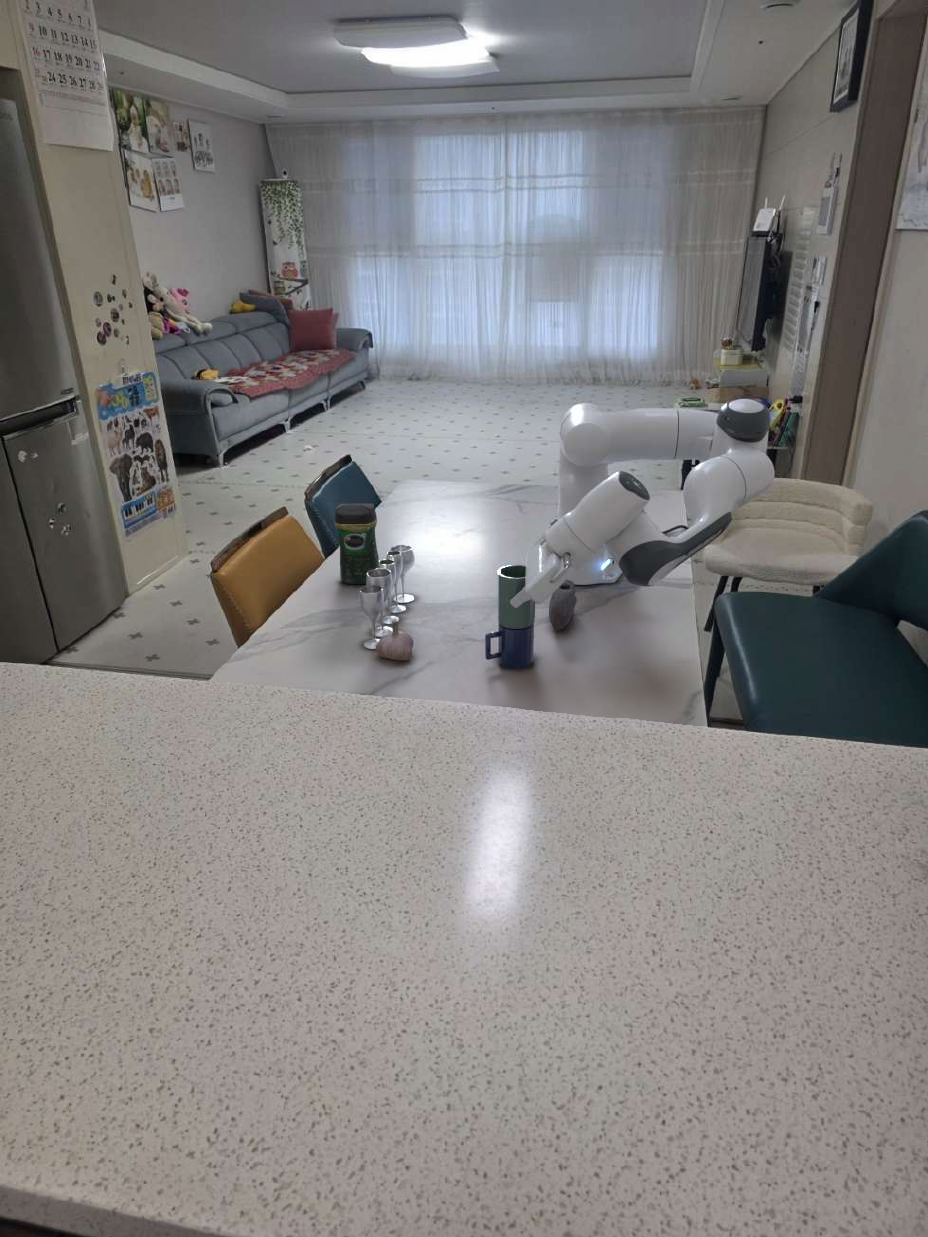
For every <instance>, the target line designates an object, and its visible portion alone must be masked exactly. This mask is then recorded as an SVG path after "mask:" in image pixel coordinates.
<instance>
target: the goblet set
mask: <svg viewBox="0 0 928 1237" xmlns="http://www.w3.org/2000/svg"><path fill="white" fill-rule="evenodd" d="M415 561H416V558H415V553H414V551H413V547H412V546H410V545H407V544H397V545H393V546H391V547H390V549H389V551H387V553H386V559H381V560H379V566H378V569H374V570H371V571H369V572H368V573H367V580H366V583H367V584H366V585H365V586H363V587H361V588H360V589H359V596H358V597H359V604H360V607H361V609H362V611H363V612H364V614H365V615H366V616H367V617H368V619H369V620H370V624H371V627H372V630H371V635H372V636H373V638H372V639H368V640H366V641H364V643H363V646H364V648H366V649H369V650H376V645H377V643H378V641H379V640H380V638H382V637H383V636H385V635H389V634H391V633H393V628H392V627H390V626H384V624H385V625H392V620H397V621H398V622H400V618H399V617H398V616H395V615H392V614H391V613H393V614H400V613H403V612H405V611H406V610H407V607H406V606H405V605H401V604H407V603H411V602H413V601H414V600H415V597H414V595H411V594H408V593H407V594H405V578H406V575H407V574H408V572H409V571H411V569H412V568H413V567H414V565H415V563H416V562H415ZM399 580H401V589H402V594H398V586H399V585H398V584H399ZM393 589H394V595H395V596H393V601H394V602H395V605H392V606H391V597H392V596H391V595H392V591H393ZM386 602H387V606H388V609H387V610H388V615H386V616H384V606H385V604H386ZM399 604H400V605H399ZM379 615H380V625H381V626H378V627H376V621H377V618H378V617H379ZM376 637H377V638H376Z"/></svg>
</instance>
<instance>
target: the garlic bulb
mask: <svg viewBox="0 0 928 1237" xmlns="http://www.w3.org/2000/svg"><path fill="white" fill-rule="evenodd" d="M398 623H399V621H397V620H392V624H391V626H392V627H391V628H392V629H393V633H391V634H389V635H385V636H383V637H379V639H380V640H379V641H378V643H377V645H376V649H375V652H376V654H377V655H378V656H379V657H383V658H385V659H390V660H395V661H408V660H410V659H411V658H412V656H413V648H414V638H413V637H412V635H410V634H409V633H407V632H405V631H402V630H399V624H398Z"/></svg>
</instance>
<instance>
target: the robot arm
mask: <svg viewBox="0 0 928 1237" xmlns="http://www.w3.org/2000/svg"><path fill="white" fill-rule="evenodd" d="M770 428H771V413H770V409H769V408H768V407H767V406H766V404H764V403H763V402H762V401H759V400H756V399H752V398H735V399H731V400H729V401H727V402H725V403H724V404H723V405H722V406H721V407H720V410H719V411H718V413H717V412H713V411H708V410H702V409H696V408H695V409H694V408H677V407H676V408H669V407H667V408H665V407H664V408H661V407H658V408H653V407H649V408H648V407H647V408H646V407H645V408H642V407H641V408H640V407H639V408H636V409H630V410H624V411H623V410H622V411H614V412H606V411H604V410H603V408H601V407H600V406H598V405H597V404H594V403H589V402H582V403H578V404H575V405H573V406H571V407H570V408H569V409H568V410H567V411H566V412H565V413H564V415H563V417H562V418H561V422H560V428H559V430H560V431H559V459H558V460H559V464H558V490H557V491H558V492H557V515H556V516H555V518H554V519H553V520H552V521H551V522H549V524H548V529H546V530H545V531H544V532H543V533H542V534H541V535H540V536H539V537H538V538H537V539H536V540H535V541H534V543H533V544H531V546H529V548H528V550H527V552H526V554H525V565H526V574H525V587H524V588H523V589H522V590H521V591H520V592H519V593H516V594H514V595H513V596H512V597H511V599H510V604H512V605H513V606H514V607H515V608H517V607H519V606H520V605H521V604H522V603H524V602H526V601H528V600H530V599H532V600H533V601H534V602H535V605H540V604H542V603H544V602H545V601H546V600H548V599H549V598H550V597H551V596H552V594H553V593H554V592H555V591H556V590H557V589H558V588H559V587H560V586H561V585H562V584H563V582H564V581H565V580H566V579H567V580H570V581H573V583H574V585H575V586H576V585H577V586H587V585H596V584H615V583H616V581H617V580H618V579H620V577H621V576H622V574H623V575H624V578H625V579H626V581H627V582H628V583H629V584H631V585H634V586H638V587H639V586H640V587H652V586H654V585H656V584H658V583H659V582H662V581H663V580H664V579H665V578H666V577H667V576H668V575H669V574H670V573H672V571H674V570H675V569H676V568H677V567H679V566H680V565H682V564H683V563H685V562H686V561H687V560H688V559H690V558H691V557H693V556H694V555H696V554H697V553H698V552H700V551H702V550H703V549H704V548H706V547H707V546H708V545H710V544H711V543H712V542H714V541H715V540H716V539H718V538H719V537H720V536H721V535H722V534H723V533H724V532H725V531H726V530H727V529H728V527H729V526H730V524H731V522H732V521H733V514H732V512H733V511H735V510H738V509H741V508H742V507H745V506H746V505H749V504H750V503H752V502H753V501H755V500H757V499H758V498H759V497H761V496H762V495H764V494H765V493H767V491H769V489H770V488H771V487H772V485H773V484H774V481H775V480H774V479H775V467H774V464H773V462H772V460H771V459H770V457H769V456H768V454H767V450H768V441H769V430H770ZM687 460H688V461H689V460H690V461H691V460H695V461H700V463H698V464H697V465H695V466H694V467H693V468H692V469H691V470H690V471H689V473H688V474H687V476H686V478H685V481H684V484H683V491H682V497H683V503H684V507H685V509H686V511H687V513H688V516H689V519H690V522H691V526H689V527H688V526H687V525H685V524H679V525H676V526H673V527H671V528H669V529H666V530H663V531H662V530H661V529H660V528H659V527H658V526H657V525H656V523H655V522H654V521H653V519H652V518H651V516H649V514H648V513H647V511H645V507H647V505H648V504H649V502H650V500H651V496H650V493H649V490H648V489H647V488H646V486H645V485H644V484H643V483H642V482H641V481H640V479H638V478H636V477H635V476H634V475H633V474H631V473H629V472H627V471H623V470H619V471H617V472H615V473H613V474H612V475H610V476H609V474H608V473H609V464H615V463H616V464H617V463H623V462H631V461H687ZM678 529H685V530H684V531H683V532H681V533H680V534H678V535H677V536H675V537H674V538H673V537H670V536H667V535H666V534H669V533H671V532H673V531H676V530H678Z"/></svg>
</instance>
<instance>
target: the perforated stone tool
mask: <svg viewBox="0 0 928 1237" xmlns="http://www.w3.org/2000/svg"><path fill="white" fill-rule="evenodd" d="M576 593H577V591H576V584H574V583H573V581H570V580H567V579H566V580H565V581H564V582H563V584H562V585H561V586H560V587H559V588H558V589H557V590H556V591H555V592H554V593H553V594H551V595H550V599H549V604H548V615H549V616H548V617H549V622H550V625H551V626H552V628H553V629H554V630H555V631H561V630H562V629H564V628H565V627H566V626H567V625H569V622H570V620H571V618H572V617H573V614H574V611H575V609H576V606H577V602H578V599H577V596H576Z"/></svg>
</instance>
